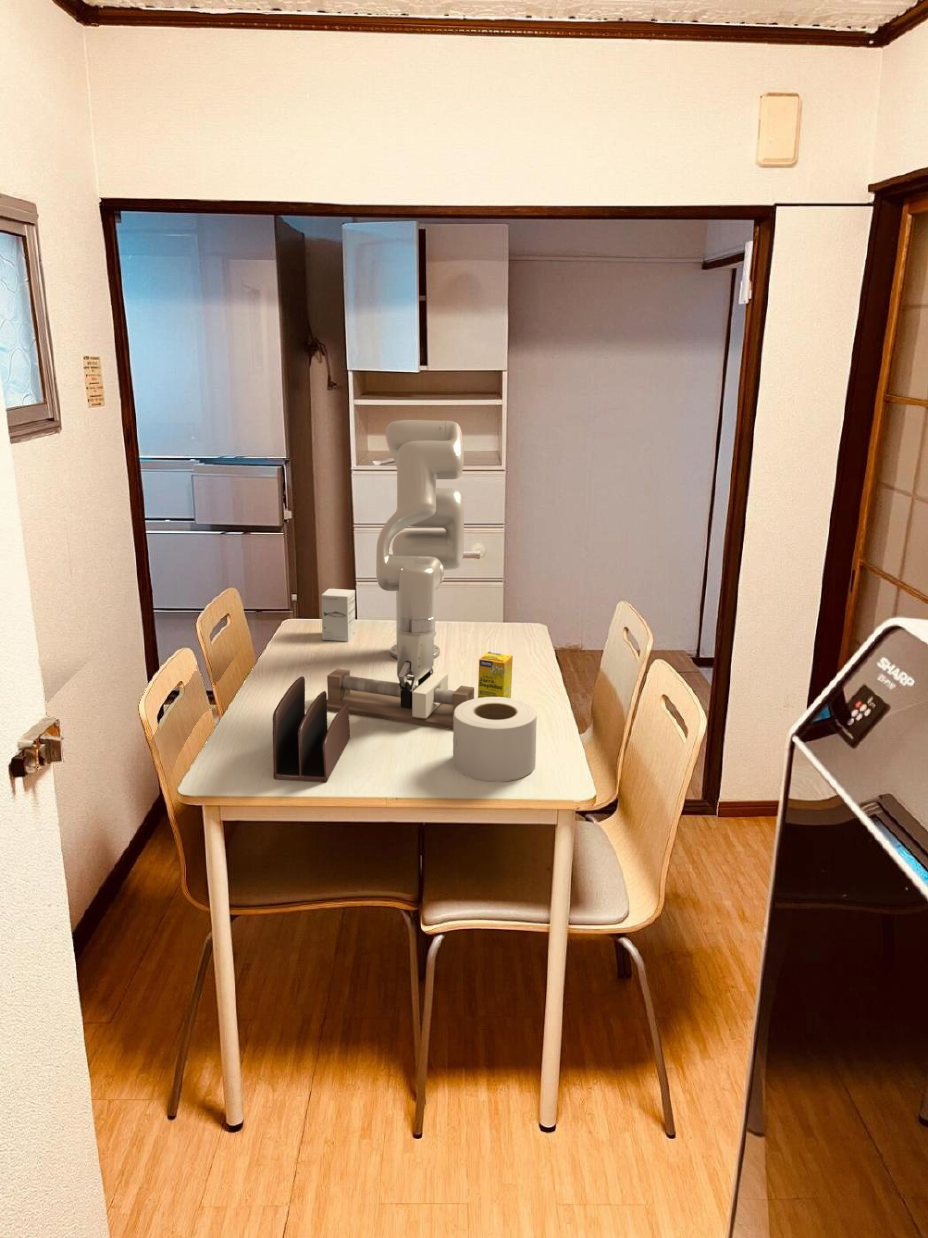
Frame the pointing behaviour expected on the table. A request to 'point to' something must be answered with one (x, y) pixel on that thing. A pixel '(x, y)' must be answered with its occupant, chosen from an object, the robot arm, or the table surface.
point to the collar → (428, 695)
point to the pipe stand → (390, 700)
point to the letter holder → (307, 736)
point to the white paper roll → (494, 739)
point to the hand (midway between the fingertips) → (416, 700)
